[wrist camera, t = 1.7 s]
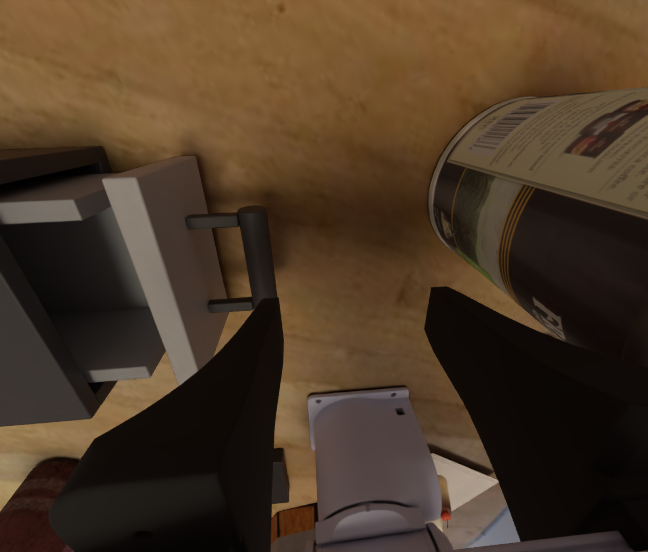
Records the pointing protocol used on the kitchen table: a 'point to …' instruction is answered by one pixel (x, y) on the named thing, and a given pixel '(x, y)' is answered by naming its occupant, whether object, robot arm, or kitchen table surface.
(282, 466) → the control block
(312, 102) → the kitchen table surface
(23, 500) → the can
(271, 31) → the kitchen table surface
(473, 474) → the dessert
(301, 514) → the wooden barrel
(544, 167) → the coffee can
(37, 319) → the cabinet
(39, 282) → the drawer
